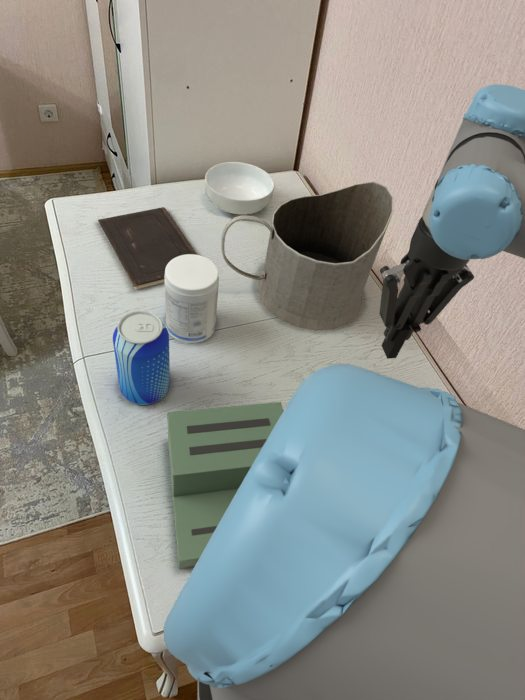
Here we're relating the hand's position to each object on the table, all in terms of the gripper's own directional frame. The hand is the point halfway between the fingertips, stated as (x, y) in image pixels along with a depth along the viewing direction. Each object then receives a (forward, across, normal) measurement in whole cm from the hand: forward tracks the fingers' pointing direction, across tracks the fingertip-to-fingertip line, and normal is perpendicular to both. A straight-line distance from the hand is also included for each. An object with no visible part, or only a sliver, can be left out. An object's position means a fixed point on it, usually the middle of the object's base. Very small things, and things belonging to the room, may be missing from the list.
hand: (388, 351), depth 78 cm
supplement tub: (+16, +28, -22) cm, 39 cm away
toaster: (+16, +26, +13) cm, 33 cm away
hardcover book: (+17, +34, -45) cm, 59 cm away
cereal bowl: (+17, +12, -63) cm, 66 cm away
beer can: (+16, +37, -8) cm, 42 cm away
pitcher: (+17, +6, -30) cm, 35 cm away
